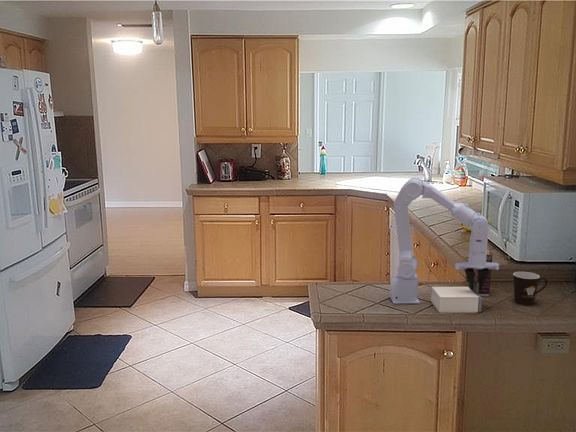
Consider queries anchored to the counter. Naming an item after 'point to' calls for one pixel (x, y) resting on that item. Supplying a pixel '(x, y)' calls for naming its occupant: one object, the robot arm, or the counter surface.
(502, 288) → the counter surface
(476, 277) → the supplement box
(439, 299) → the sleeve
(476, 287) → the tray
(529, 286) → the coffee mug
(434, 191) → the robot arm
